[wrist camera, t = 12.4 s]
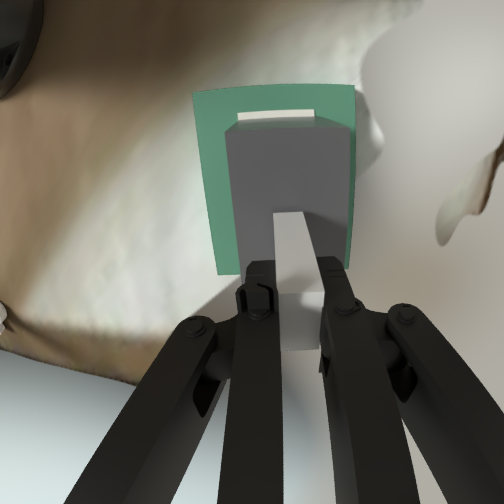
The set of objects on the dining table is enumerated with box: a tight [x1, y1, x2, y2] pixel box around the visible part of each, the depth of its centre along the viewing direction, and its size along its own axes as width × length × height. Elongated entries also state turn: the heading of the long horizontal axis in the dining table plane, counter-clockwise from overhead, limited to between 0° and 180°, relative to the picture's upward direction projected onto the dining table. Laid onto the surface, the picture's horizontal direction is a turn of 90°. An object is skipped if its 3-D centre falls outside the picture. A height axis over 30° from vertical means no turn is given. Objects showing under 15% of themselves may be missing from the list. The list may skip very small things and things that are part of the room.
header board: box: [192, 84, 356, 275], centre depth 22 cm, size 16×12×6 cm
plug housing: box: [224, 116, 350, 285], centre depth 19 cm, size 11×6×8 cm, turn 5°
